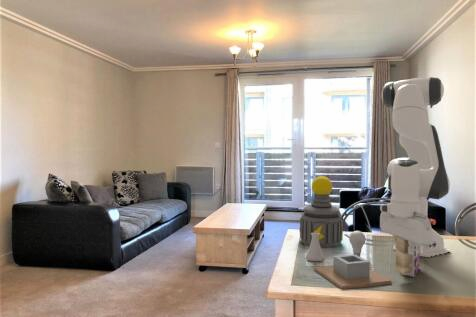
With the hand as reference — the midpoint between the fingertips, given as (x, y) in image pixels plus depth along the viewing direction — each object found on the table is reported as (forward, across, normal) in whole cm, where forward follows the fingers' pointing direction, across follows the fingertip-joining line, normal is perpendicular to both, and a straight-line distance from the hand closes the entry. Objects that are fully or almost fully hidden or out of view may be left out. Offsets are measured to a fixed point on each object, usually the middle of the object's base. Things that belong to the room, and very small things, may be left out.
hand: (404, 251), depth 122 cm
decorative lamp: (+10, +49, +3) cm, 50 cm away
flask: (+10, +28, +17) cm, 35 cm away
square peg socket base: (+10, +8, +14) cm, 19 cm away
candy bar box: (+10, +7, -8) cm, 15 cm away
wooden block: (+7, 0, 0) cm, 7 cm away
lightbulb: (+10, +24, +1) cm, 26 cm away
